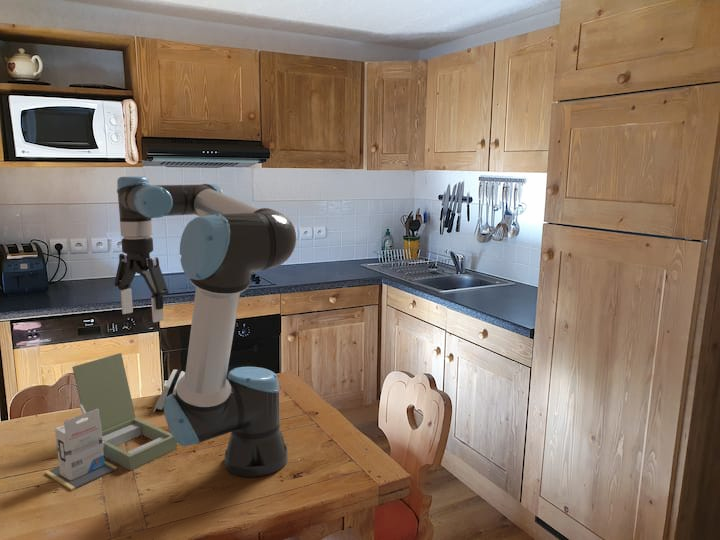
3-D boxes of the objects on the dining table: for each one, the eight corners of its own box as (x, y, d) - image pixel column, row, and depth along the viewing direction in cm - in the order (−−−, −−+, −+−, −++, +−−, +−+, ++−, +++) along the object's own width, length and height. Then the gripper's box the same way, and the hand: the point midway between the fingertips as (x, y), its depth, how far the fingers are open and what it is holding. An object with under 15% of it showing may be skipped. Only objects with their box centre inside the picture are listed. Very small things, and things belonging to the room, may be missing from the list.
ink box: (94, 459, 135) (89, 402, 133) (105, 465, 133) (100, 408, 130) (58, 474, 129) (52, 415, 126) (69, 481, 126) (63, 421, 123)
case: (177, 448, 142) (172, 370, 138) (127, 472, 130) (120, 388, 127) (125, 424, 155) (119, 352, 151) (76, 444, 144) (68, 367, 140)
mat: (117, 469, 132) (117, 467, 132) (71, 490, 123) (71, 488, 123) (90, 454, 139) (90, 452, 138) (45, 473, 130) (44, 471, 130)
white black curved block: (163, 390, 178) (173, 362, 177) (178, 394, 179) (187, 366, 178) (152, 412, 162) (162, 381, 161) (168, 417, 163) (178, 386, 162)
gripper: (179, 239, 138) (184, 321, 142) (122, 232, 153) (128, 307, 156) (153, 242, 132) (159, 328, 136) (96, 235, 147) (103, 312, 150)
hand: (142, 317), depth 146 cm, fingers open, 13 cm apart
